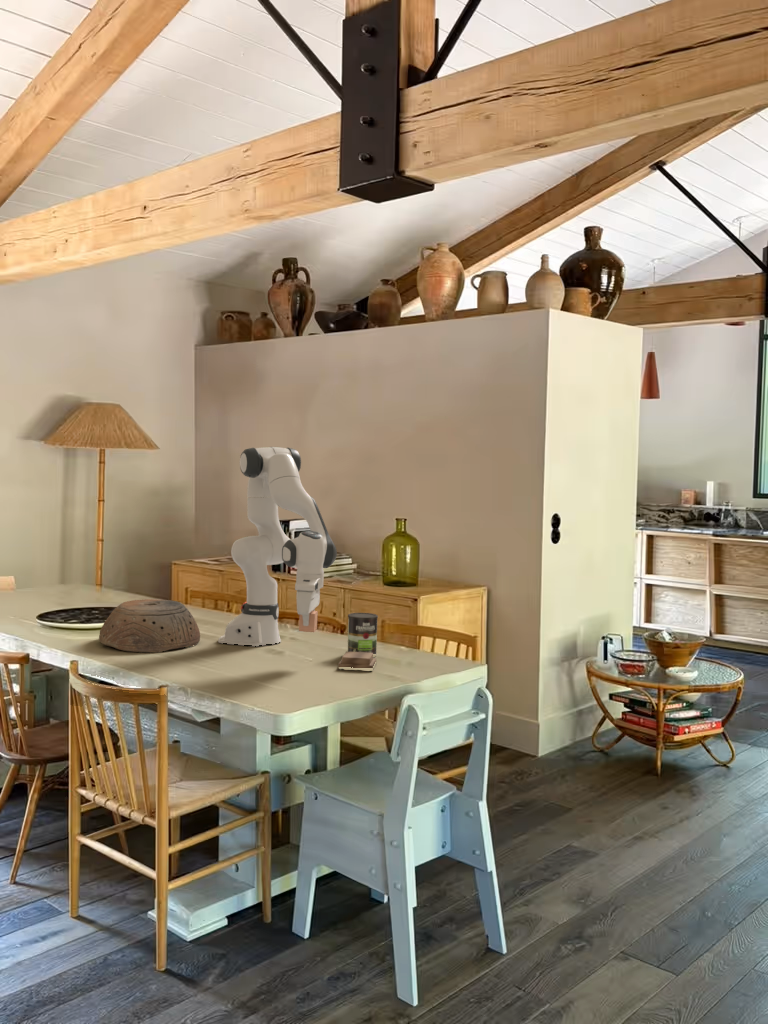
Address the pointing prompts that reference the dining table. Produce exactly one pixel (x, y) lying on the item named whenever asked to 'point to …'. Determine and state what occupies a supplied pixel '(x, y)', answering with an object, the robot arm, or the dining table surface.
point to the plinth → (357, 660)
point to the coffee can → (362, 632)
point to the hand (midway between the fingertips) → (308, 623)
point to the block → (312, 622)
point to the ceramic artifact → (150, 626)
